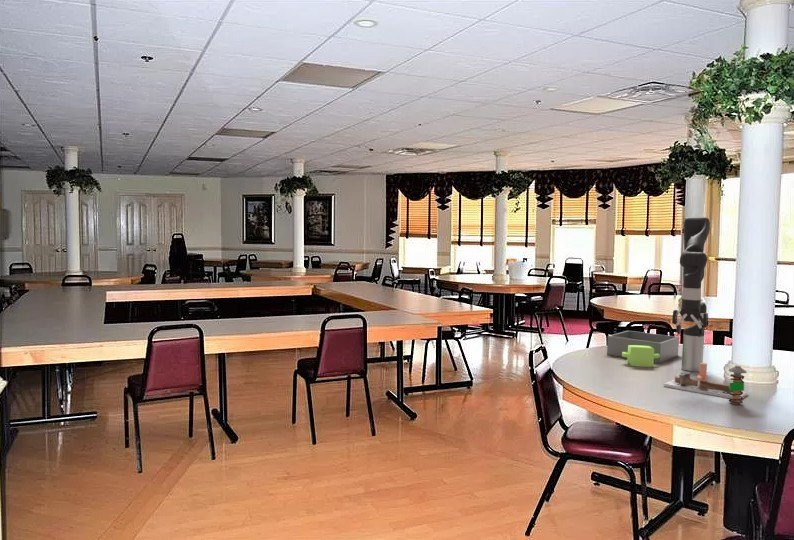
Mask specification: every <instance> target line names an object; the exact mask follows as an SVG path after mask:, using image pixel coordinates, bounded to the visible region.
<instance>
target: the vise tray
mask: <svg viewBox="0 0 794 540" xmlns="http://www.w3.org/2000/svg"><path fill="white" fill-rule="evenodd" d="M679 342H680V337H679V336H673V335H665V334H656V333H652V332H651V333H648V332H642V331H635V330H624V331H622V332H621V331H620V332H616V333H614V334H610V335H607V342H606V343H607V344H606V346H607V347H606V355H609V356H614V357H615V356H616V357H622V358H624V357H623V356H622V352H628V345H641V346H650V347H652V348H654V354H659V355H660V357H659V358H654V363H659V364H661V363H663V362H665V361H667V360H670V359H673V358H675V357H677V356H679V348H680V347H679V346H680V345H679V344H680V343H679Z"/></svg>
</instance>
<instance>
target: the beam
mask: <svg viewBox="0 0 794 540" xmlns="http://www.w3.org/2000/svg"><path fill="white" fill-rule="evenodd" d="M674 379H675V382H680V385H682V383H686V384H692V385H698V381H697V379H694V378H691V372H690V371H688V372H687V371H682V372H680V374H679V375H677V376H674ZM729 385H730V384H725V383H724V384H723V383H717V382H711V381H708V380H707V381H706V382H703V381H700V386H703V387H709V388H715V389H720V390H726V391H729ZM732 392H733V391H732ZM740 393H741V392H740Z"/></svg>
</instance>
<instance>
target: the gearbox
mask: <svg viewBox="0 0 794 540" xmlns="http://www.w3.org/2000/svg"><path fill="white" fill-rule="evenodd" d="M622 356H623V357H622V358H627V361H626V362H627V364H629V366H631V367H641V368H642V367H643V368H644V367H645V368H651V367H654V363H655V362H654V358H659V357H660V355H659V354H654V348H652V347H650V346H641V345H628V352H622Z"/></svg>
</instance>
